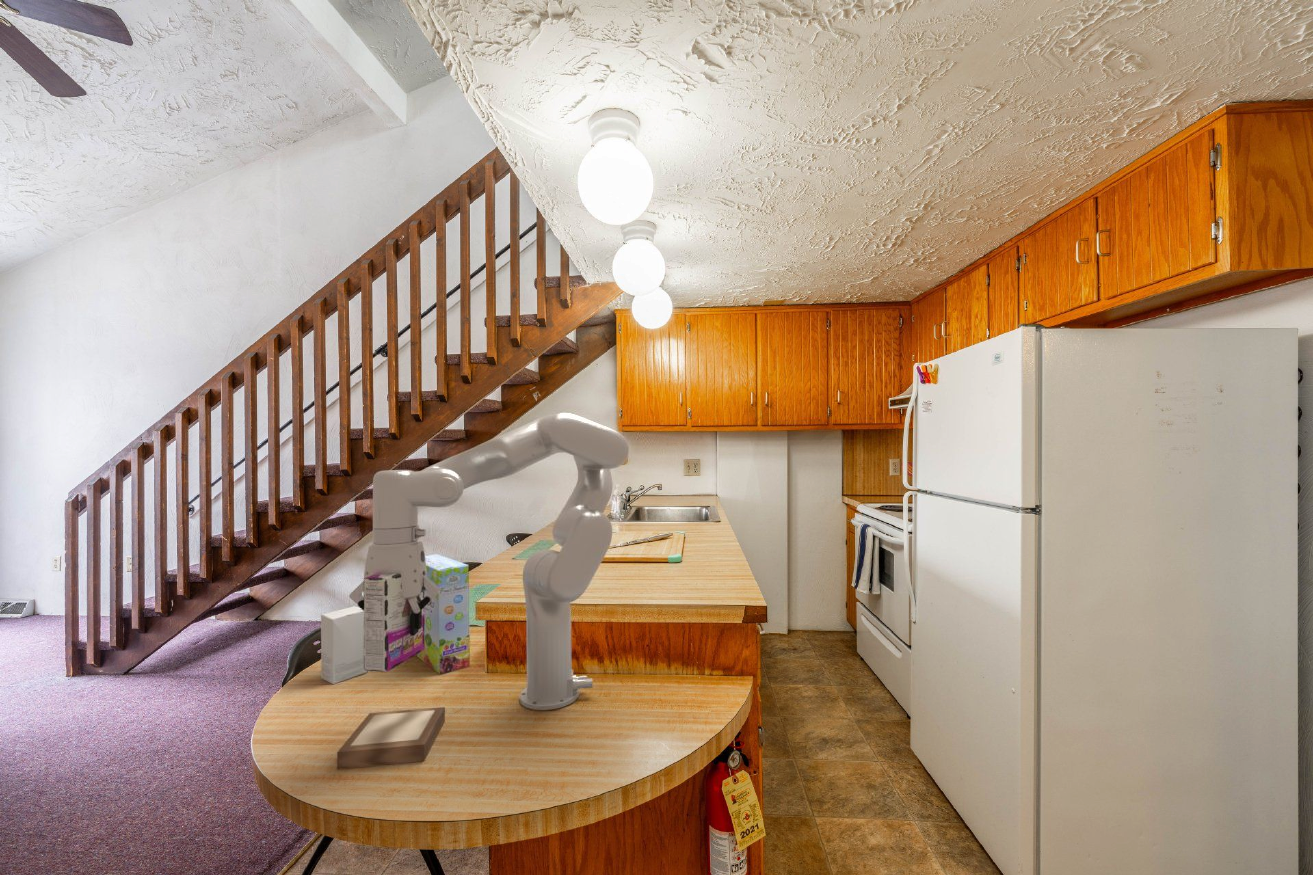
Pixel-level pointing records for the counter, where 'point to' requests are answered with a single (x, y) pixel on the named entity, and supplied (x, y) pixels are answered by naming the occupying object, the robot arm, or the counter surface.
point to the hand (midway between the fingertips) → (395, 633)
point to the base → (392, 738)
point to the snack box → (447, 616)
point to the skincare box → (342, 644)
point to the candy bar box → (388, 624)
